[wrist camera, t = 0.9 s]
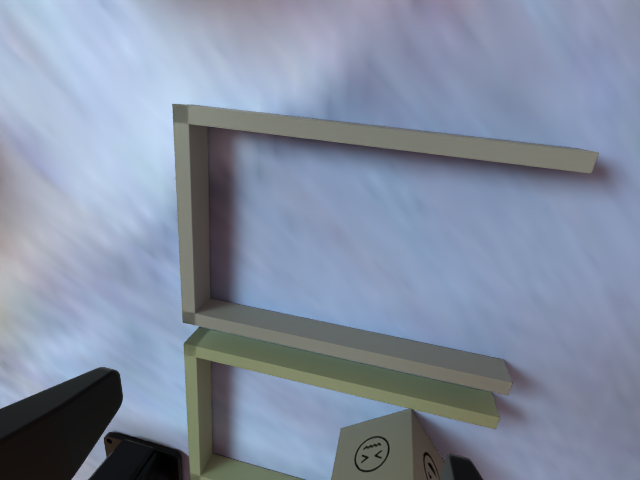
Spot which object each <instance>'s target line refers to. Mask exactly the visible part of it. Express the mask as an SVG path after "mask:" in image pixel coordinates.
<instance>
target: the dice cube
mask: <svg viewBox="0 0 640 480" xmlns="http://www.w3.org/2000/svg"><path fill="white" fill-rule="evenodd" d="M444 464H445V463H444V461H443V459H442V458H441V456H440V454H439V453H438V451H437V449H436V448H435V446H434V445H433V443H432V441H431V440H430V438H429V436H428V435H427V433H426V432H425V430H424V428H423V427H422V425H421V423H420V422H419V420H418V419H417V417H416V415H415V414H414V412H413V410H412V409H406V410H403V411H399V412H396V413H392V414H389V415H386V416H382V417H379V418H375V419H372V420H368V421H365V422H361V423H358V424H354V425H351V426H347V427H344V428H341V431H340V436H339V441H338V446H337V452H336V457H335V462H334V467H333V472H332V478H331V480H440V477H441V473H442V470H443V467H444Z"/></svg>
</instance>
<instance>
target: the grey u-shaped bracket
mask: <svg viewBox="0 0 640 480" xmlns="http://www.w3.org/2000/svg"><path fill="white" fill-rule="evenodd" d="M184 359H185V380H186V402H187V423H188V444H189V465H190V480H303V479H300V478H296V477H293V476H289V475H286V474H282V473H279V472H275V471H272V470H268V469H265V468H261V467H258V466H254V465H251V464H247V463H244V462H240V461H237V460H233V459H230V458H226V457H223V456H220V455H216V454H213V447H212V376H211V361H214V362H218V363H222V364H226V365H230V366H235V367H239V368H243V369H247V370H251V371H255V372H260V373H264V374H268V375H272V376H276V377H280V378H285V379H289V380H293V381H297V382H301V383H305V384H309V385H314V386H318V387H322V388H326V389H330V390H334V391H339V392H343V393H347V394H351V395H355V396H359V397H364V398H368V399H372V400H376V401H380V402H384V403H388V404H393V405H397V406H401V407H405V408H409V409H413V410H418V411H422V412H426V413H430V414H434V415H438V416H443V417H447V418H451V419H455V420H459V421H463V422H467V423H472V424H476V425H480V426H484V427H488V428H492V429H496V427H497V425H498V422H499V419H500V416H499V413H498V410H497V407H496V404H495V401H494V398H493V395H492V393H491V392H487V391H482V390H478V389H474V388H469V387H465V386H460V385H456V384H451V383H447V382H442V381H438V380H434V379H429V378H425V377H420V376H416V375H411V374H407V373H402V372H398V371H394V370H389V369H385V368H380V367H376V366H371V365H367V364H362V363H358V362H353V361H349V360H345V359H340V358H336V357H331V356H327V355H322V354H318V353H313V352H309V351H305V350H300V349H296V348H291V347H287V346H282V345H278V344H273V343H269V342H265V341H260V340H256V339H251V338H247V337H242V336H238V335H233V334H229V333H225V332H220V331H216V330H211V329H207V328H202V327H199V328H198V329H197V330H196V331H195V332H194V333H193V334H192V335H191V336H190V337H189V339H188V340H187V341H186V342H185V343H184Z"/></svg>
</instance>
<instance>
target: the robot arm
mask: <svg viewBox="0 0 640 480" xmlns="http://www.w3.org/2000/svg"><path fill="white" fill-rule="evenodd" d="M122 400H123V393H122V386H121V379H120V374H119V372H118V371H117V370H114V369H110V368H106V367H100V368H97V369H94V370H92V371H89V372H87V373H85V374H82V375H80V376H77V377H75V378H73V379H70V380H68V381H66V382H63V383H61V384H58V385H56V386H54V387H51V388H49V389H47V390H44V391H42V392H39V393H37V394H35V395H32V396H30V397H28V398H25V399H23V400H20V401H18V402H16V403H13V404H11V405H9V406H6V407H4V408H1V409H0V480H71V479H72V478H73V477H74V475H75V474H76V472H77V471H78V470H79V468H80V467H81V465H82V464H83V462H84V461H85V459H86V458H87V456H88V455H89V453H90V452H91V450H92V449H93V447H94V446H95V444H96V443H97V441H98V440H99V438H100V437H101V435H102V434H103V432H104V431H105V429H106V428H107V426H108V425H109V423H110V422H111V420H112V419H113V417H114V416H115V414H116V413H117V411H118V410H119V408H120V406H121V404H122ZM104 444H105V450H106V456H107V458H106V459H105V461H104V462H103V463H102V464H101V465H100V466H99V468H98V469H97V470H96V471H95V472H94V473H93V475H92V476H91V477H90V478H89V479H88V480H182V464H181V455H180V453H179V452H177V451H175V450H172V449H168V448H165V447H161V446H158V445H154V444H151V443H148V442H144V441H141V440H137V439H134V438H130V437H127V436H124V435H120V434H117V433H113V432H109V433H108V434H107V435H106V436H105V437H104ZM440 480H483V478H482V477H481V475H480V474H479V472H478V470H477V469H476V467H475V466H474V464H473V463H472V461H471V460H470V459H468V458H466V457H462V456H458V455H454V454H449V455H448V456H447V457H446V460H445V464H444V467H443V470H442V473H441V477H440Z"/></svg>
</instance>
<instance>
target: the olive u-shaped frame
mask: <svg viewBox="0 0 640 480" xmlns="http://www.w3.org/2000/svg"><path fill="white" fill-rule="evenodd" d="M172 106H173V127H174V149H175V170H176V191H177V212H178V233H179V254H180V275H181V296H182V317H183V323H187V324H192V325H196V326H201V327H205V328H210V329H214V330H219V331H223V332H228V333H232V334H236V335H241V336H245V337H250V338H254V339H259V340H263V341H268V342H272V343H277V344H281V345H285V346H290V347H294V348H299V349H303V350H308V351H312V352H317V353H321V354H326V355H330V356H334V357H339V358H343V359H348V360H352V361H357V362H361V363H366V364H370V365H375V366H379V367H383V368H388V369H392V370H397V371H401V372H406V373H410V374H415V375H419V376H424V377H428V378H432V379H437V380H441V381H446V382H450V383H455V384H459V385H464V386H468V387H473V388H477V389H481V390H486V391H490V392H495V393H499V394H504V395H509V392H510V390H511V387H512V384H513V382H512V379H511V377H510V375H509V372H508V370H507V367H506V365H505V362H504V360H503V359H498V358H493V357H488V356H483V355H479V354H474V353H469V352H464V351H460V350H455V349H450V348H445V347H440V346H436V345H431V344H426V343H421V342H417V341H412V340H407V339H402V338H397V337H393V336H388V335H383V334H378V333H374V332H369V331H364V330H359V329H354V328H350V327H345V326H340V325H335V324H331V323H326V322H321V321H316V320H311V319H307V318H302V317H297V316H292V315H288V314H283V313H278V312H273V311H268V310H264V309H259V308H254V307H249V306H245V305H240V304H235V303H230V302H225V301H221V300H216V299H211V298H210V233H209V162H208V126H209V127H217V128H225V129H233V130H241V131H250V132H258V133H266V134H274V135H282V136H290V137H298V138H306V139H314V140H323V141H331V142H339V143H347V144H355V145H363V146H371V147H379V148H387V149H396V150H404V151H412V152H420V153H428V154H436V155H444V156H452V157H461V158H469V159H477V160H485V161H493V162H501V163H509V164H517V165H525V166H534V167H542V168H550V169H558V170H566V171H574V172H582V173H590V174H591V173H592V170H593V168H594V165H595V162H596V160H597V157H598V154H599V153H598V152H593V151H588V150H583V149H578V148H570V147H561V146H553V145H544V144H535V143H526V142H517V141H508V140H500V139H491V138H482V137H473V136H464V135H455V134H447V133H438V132H429V131H420V130H411V129H402V128H394V127H385V126H376V125H367V124H358V123H349V122H341V121H332V120H323V119H314V118H305V117H296V116H288V115H279V114H270V113H261V112H252V111H243V110H235V109H226V108H217V107H208V106H199V105H184V104H172Z"/></svg>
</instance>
